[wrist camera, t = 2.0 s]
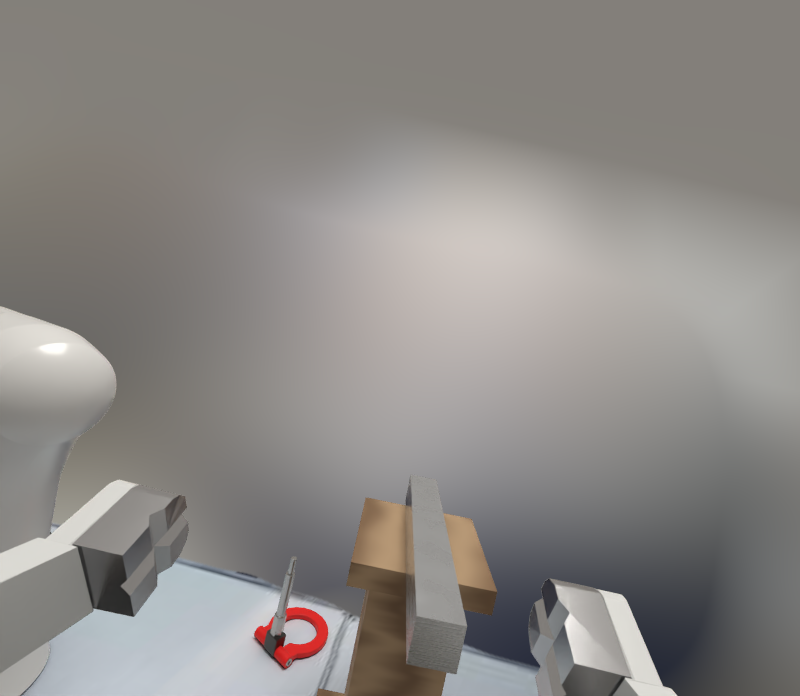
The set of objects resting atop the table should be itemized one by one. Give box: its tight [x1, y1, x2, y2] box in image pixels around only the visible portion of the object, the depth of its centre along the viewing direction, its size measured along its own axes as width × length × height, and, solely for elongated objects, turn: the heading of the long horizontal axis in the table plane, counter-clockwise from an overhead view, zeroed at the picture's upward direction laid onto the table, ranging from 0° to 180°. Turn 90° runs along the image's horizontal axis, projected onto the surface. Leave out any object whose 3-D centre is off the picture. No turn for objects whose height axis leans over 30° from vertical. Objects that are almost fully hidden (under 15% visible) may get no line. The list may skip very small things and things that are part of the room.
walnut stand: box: [317, 498, 497, 696], centre depth 38 cm, size 14×14×26 cm
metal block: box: [406, 475, 467, 674], centre depth 34 cm, size 3×22×3 cm, turn 179°
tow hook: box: [254, 557, 328, 668], centre depth 55 cm, size 8×13×9 cm
